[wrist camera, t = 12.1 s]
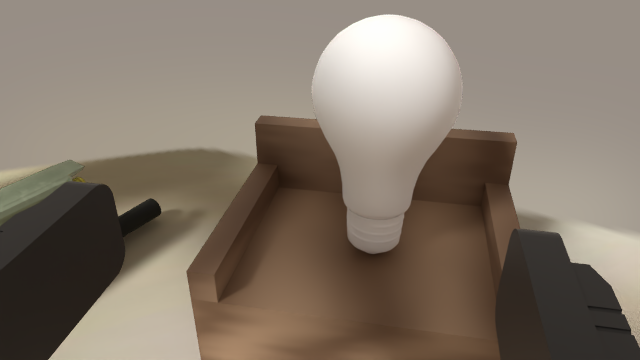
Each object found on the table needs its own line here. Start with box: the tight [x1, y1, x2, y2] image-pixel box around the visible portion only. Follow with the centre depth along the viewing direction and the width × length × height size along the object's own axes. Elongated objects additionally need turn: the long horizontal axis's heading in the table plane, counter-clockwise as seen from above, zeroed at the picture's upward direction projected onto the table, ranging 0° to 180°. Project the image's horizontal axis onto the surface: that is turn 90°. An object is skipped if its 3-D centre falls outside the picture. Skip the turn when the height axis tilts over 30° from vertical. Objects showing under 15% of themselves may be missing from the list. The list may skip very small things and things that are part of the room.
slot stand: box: [187, 116, 520, 360], centre depth 25 cm, size 14×11×8 cm
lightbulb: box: [312, 15, 463, 254], centre depth 22 cm, size 6×6×11 cm
